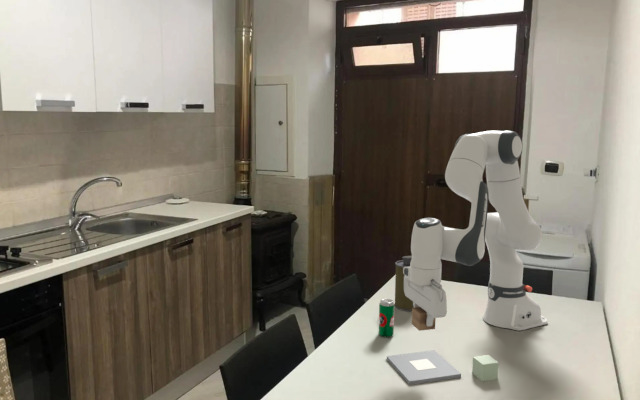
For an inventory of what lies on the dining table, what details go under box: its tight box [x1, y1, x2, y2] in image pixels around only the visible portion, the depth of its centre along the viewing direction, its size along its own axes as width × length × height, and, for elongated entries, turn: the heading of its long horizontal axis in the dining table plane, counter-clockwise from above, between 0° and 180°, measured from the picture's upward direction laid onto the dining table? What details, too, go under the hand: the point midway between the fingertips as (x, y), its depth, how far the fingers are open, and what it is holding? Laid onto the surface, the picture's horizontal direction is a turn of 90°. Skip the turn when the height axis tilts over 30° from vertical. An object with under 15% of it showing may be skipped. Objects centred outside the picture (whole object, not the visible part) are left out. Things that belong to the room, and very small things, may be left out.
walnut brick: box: [411, 307, 437, 331], centre depth 150 cm, size 5×5×5 cm
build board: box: [386, 349, 462, 386], centre depth 152 cm, size 16×16×1 cm
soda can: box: [378, 298, 395, 338], centre depth 175 cm, size 5×5×12 cm
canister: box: [394, 255, 414, 312], centre depth 202 cm, size 11×10×20 cm
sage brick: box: [471, 354, 499, 382], centre depth 148 cm, size 5×5×5 cm
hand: (423, 321), depth 150 cm, fingers closed on walnut brick, 5 cm apart
